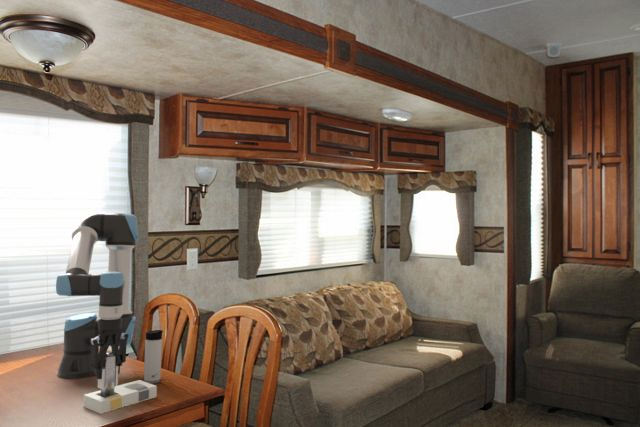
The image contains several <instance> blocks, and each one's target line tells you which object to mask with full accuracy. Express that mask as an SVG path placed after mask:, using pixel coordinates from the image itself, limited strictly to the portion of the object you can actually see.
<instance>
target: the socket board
mask: <svg viewBox="0 0 640 427" xmlns="http://www.w3.org/2000/svg"><path fill="white" fill-rule="evenodd" d="M157 388H158V386H157V385H156V384H154V383H153V384H150V383H147V382H144V380H142V379H138V380H134V381H131V382H126V383H122V384H118V385H116V386H115V391H114V395H113V396H109V397H107V398H103V397H101V396H100V395H101V389H100V390H96V391H93V392H89V393H85V394H83V408H86V409H88V410H91V411H93V412H95V413H97V414H101V415H102V414H105V413H104V412H106V413H108V411H109V412H111V410H112V411H115V410H118V408H119V409H121V407H122V408H125V407H127V406H131V404H132V405H135V404H138V403H141V402H144V401H147V400H151V399H154V398H157V392H158V391H157V390H158V389H157ZM124 406H125V407H124Z"/></svg>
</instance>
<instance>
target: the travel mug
mask: <svg viewBox="0 0 640 427" xmlns="http://www.w3.org/2000/svg"><path fill="white" fill-rule="evenodd" d="M163 333H164V329H163V330H161V329H156V330H149V331H148V332H145V339H144V340H145V342H144V363H143V364H144V366H143V381H144V382H147V383H150V384H153V385H154V384H158V383H160V382H161V379H162V378H161V377H162V376H161V375H162V372H161V371H162V354H163V352H162V348H163Z"/></svg>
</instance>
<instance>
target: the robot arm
mask: <svg viewBox="0 0 640 427" xmlns="http://www.w3.org/2000/svg"><path fill="white" fill-rule="evenodd" d="M71 240H72V245H71V250H70V253H69V258H68V260H67V265H66V266H67V267H66V270H65V273H62V274H61V273H59V274H58V275H57V276H56V281H55V282H56V283H55V291H56V294H57V295H58V296H60V297H61V296H67V297H83V296H84V297H85V296H87V297H89V296H90V297H92V296H93V297H95V296H96V297H99V303H98V315H97V313H95V312H93V313H92V312H91V313H90V312H88V313H87V312H86V313H81V314H75V315H72V316H69V317H68V318H66V319H65V320H64V329H63V333H64V334H63V353H62V357H61V360H60V363H59V365H58V368H57V376H58V377H60V378H64V379H82V378H89V377H92V376H95V378H96V379H97V388H98V389H100V390H101V389H104V384H105V369H103V366H104V361H105V357H106V353H107V352H108V350H109V347H111V349H110V350H111V352H113V353H114V355H116V366H115V386H119V384H118V383H119V375H120V374H121V367H122V366H123V363H126V362H127V361H126V359H127V346H129V345H130V344H132V341H133V335H134V331H135V324H136V319H137V318H136V316H133V311H132V310H131V309H130V308H129V307H130V287H131V286H130V284H131V282H130V281H131V262H132V260H131V259H132V258H131V257H132V250H133V249H134V248H135V247H136V243H139V241H140V237H139V225H138V218H137V216H136V215H134V214H131V213H115V212H114V213H113V212H111V213H110V212H109V213H107V212H106V213H105V212H103V213H102V212H96V213H91V214H89V215H87V216H85V217H84V218H81V220H79V222H78V223H76V225H75V226H74V228H73V229H72V233H71ZM97 242H104V243H105V247H106V248H107V250H109V251H108V269H107V271H103V272H101V273H99V274H97V273H96V274H95V273H93V274H91V273H90V270H91V269H90V268H91V263H92V257H93V252H94V246H95V244H96V243H97Z"/></svg>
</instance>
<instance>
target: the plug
mask: <svg viewBox="0 0 640 427" xmlns="http://www.w3.org/2000/svg"><path fill="white" fill-rule="evenodd" d="M115 366H116V355H114V353H113V352H112V351H107V353H106V357H105V361H104V366H103V369H105V384H104V389H100V390H101V395H100V396H101V397H103V398H107V397H109V396H113V395H114V391H115Z"/></svg>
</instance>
